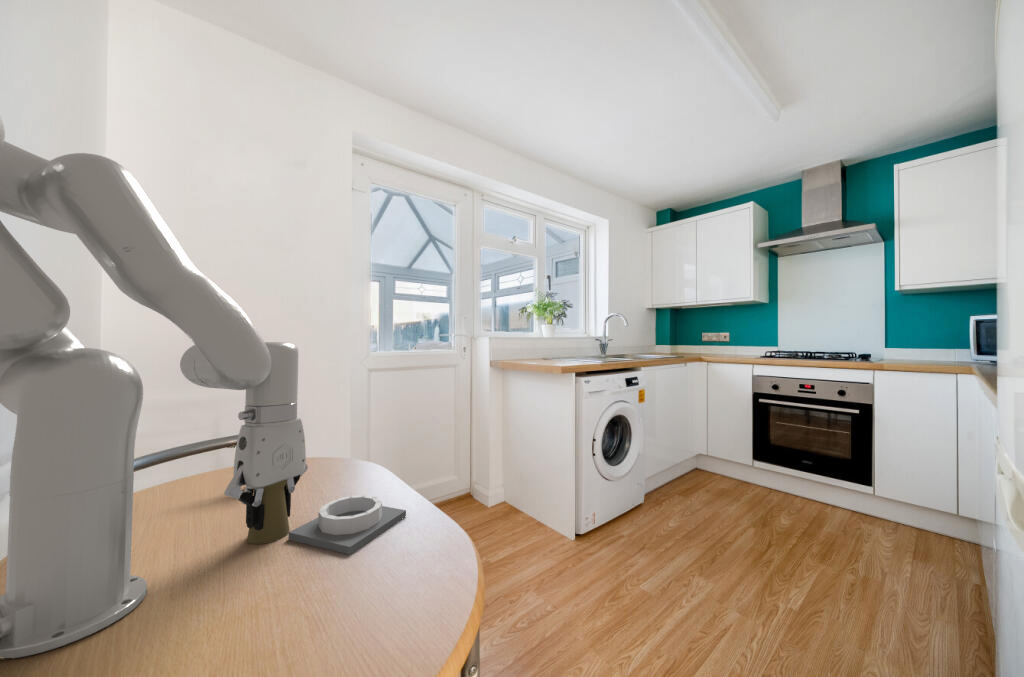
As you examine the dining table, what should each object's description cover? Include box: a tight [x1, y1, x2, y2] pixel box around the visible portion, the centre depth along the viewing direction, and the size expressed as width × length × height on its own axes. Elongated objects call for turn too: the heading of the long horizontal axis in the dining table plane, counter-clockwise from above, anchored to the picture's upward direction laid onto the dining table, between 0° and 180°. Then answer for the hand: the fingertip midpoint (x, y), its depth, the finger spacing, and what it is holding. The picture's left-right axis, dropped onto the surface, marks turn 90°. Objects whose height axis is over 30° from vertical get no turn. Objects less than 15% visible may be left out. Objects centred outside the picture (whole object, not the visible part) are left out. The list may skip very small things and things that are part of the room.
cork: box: [246, 479, 290, 545], centre depth 63 cm, size 6×6×11 cm
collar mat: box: [288, 494, 407, 555], centre depth 66 cm, size 14×13×4 cm
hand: (269, 520), depth 63 cm, fingers closed on cork, 4 cm apart
